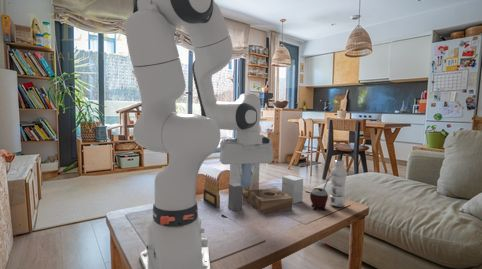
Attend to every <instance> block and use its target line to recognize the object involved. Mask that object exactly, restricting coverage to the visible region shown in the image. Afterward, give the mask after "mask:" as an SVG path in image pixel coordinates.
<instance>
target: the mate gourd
mask: <svg viewBox="0 0 482 269" xmlns="http://www.w3.org/2000/svg"><path fill="white" fill-rule="evenodd" d="M333 175H334V174H333ZM333 175H331V174H330V175H329V176H328V177H327V178H326V182H325V183H324V186H323V188H321V187H314V188H313V189H312V190H311V191H310V196H309V198H310V202H311V207H312V208H313V209H312V211H317V210H320V209H321V210H320V211H323V210H324V211H326V206H327V202H328V200H329V195H328V192H327V190H326V187H327V184H328V182H329V180H330V179H331V177H332V176H333ZM316 209H317V210H316Z"/></svg>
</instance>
